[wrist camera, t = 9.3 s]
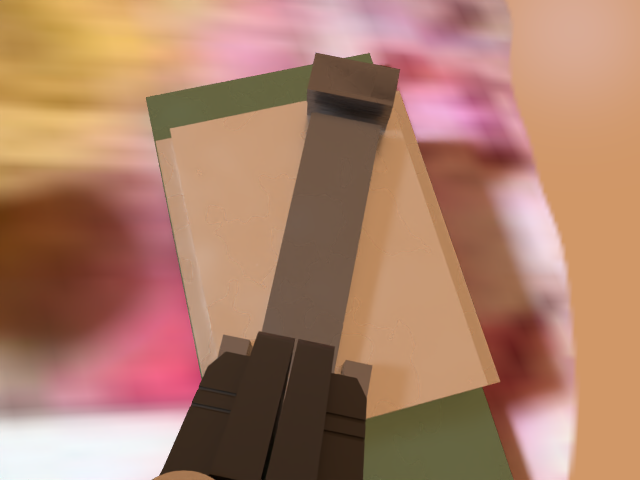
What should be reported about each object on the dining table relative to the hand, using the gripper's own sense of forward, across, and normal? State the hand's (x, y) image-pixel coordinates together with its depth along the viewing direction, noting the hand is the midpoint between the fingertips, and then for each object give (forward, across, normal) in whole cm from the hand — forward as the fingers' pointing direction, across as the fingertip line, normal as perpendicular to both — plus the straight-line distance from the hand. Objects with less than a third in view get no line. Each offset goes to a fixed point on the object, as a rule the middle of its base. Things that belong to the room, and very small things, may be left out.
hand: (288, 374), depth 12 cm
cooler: (+17, 0, +8) cm, 19 cm away
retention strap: (+13, 0, +4) cm, 13 cm away
